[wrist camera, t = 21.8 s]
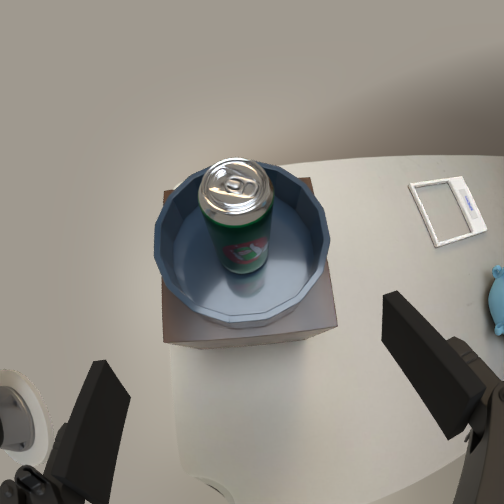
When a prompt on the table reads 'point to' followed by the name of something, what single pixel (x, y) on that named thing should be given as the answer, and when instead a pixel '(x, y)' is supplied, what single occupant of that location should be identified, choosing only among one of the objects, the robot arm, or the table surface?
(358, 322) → the table surface
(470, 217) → the photo frame
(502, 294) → the decorative pot
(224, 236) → the soda can
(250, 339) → the stand
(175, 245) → the bowl
